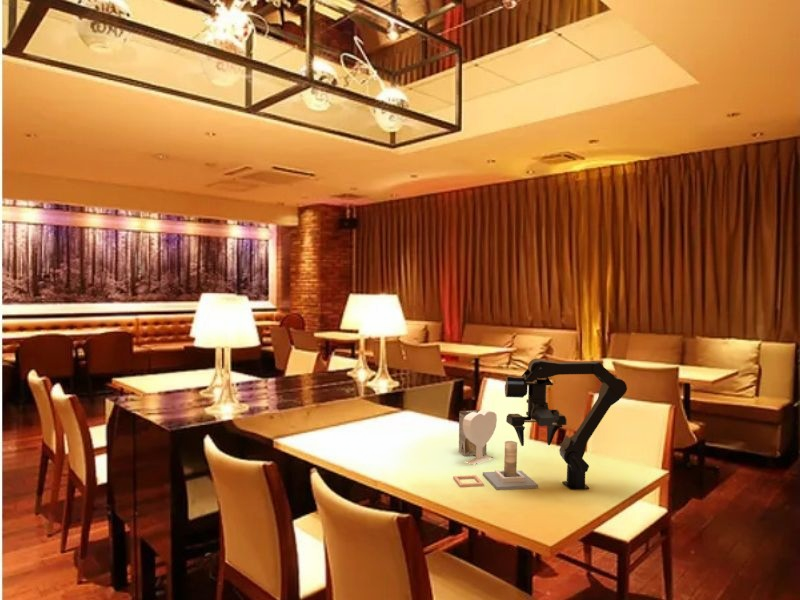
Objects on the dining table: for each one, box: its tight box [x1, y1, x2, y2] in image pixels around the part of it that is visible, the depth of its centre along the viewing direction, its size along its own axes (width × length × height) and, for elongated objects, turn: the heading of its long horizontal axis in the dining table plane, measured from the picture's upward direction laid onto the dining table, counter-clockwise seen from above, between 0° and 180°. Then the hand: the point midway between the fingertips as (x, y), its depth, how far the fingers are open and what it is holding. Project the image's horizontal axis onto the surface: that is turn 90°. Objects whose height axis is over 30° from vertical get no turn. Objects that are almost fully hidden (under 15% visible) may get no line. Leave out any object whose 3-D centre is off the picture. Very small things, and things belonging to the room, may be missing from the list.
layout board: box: [482, 469, 539, 491], centre depth 191 cm, size 14×14×2 cm
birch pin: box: [503, 440, 518, 477], centre depth 191 cm, size 4×4×12 cm
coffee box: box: [458, 409, 487, 457], centre depth 221 cm, size 9×6×16 cm
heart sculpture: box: [463, 409, 498, 465], centre depth 212 cm, size 16×5×18 cm, turn 134°
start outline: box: [452, 474, 485, 488], centre depth 189 cm, size 8×8×1 cm
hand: (535, 445), depth 188 cm, fingers open, 9 cm apart
